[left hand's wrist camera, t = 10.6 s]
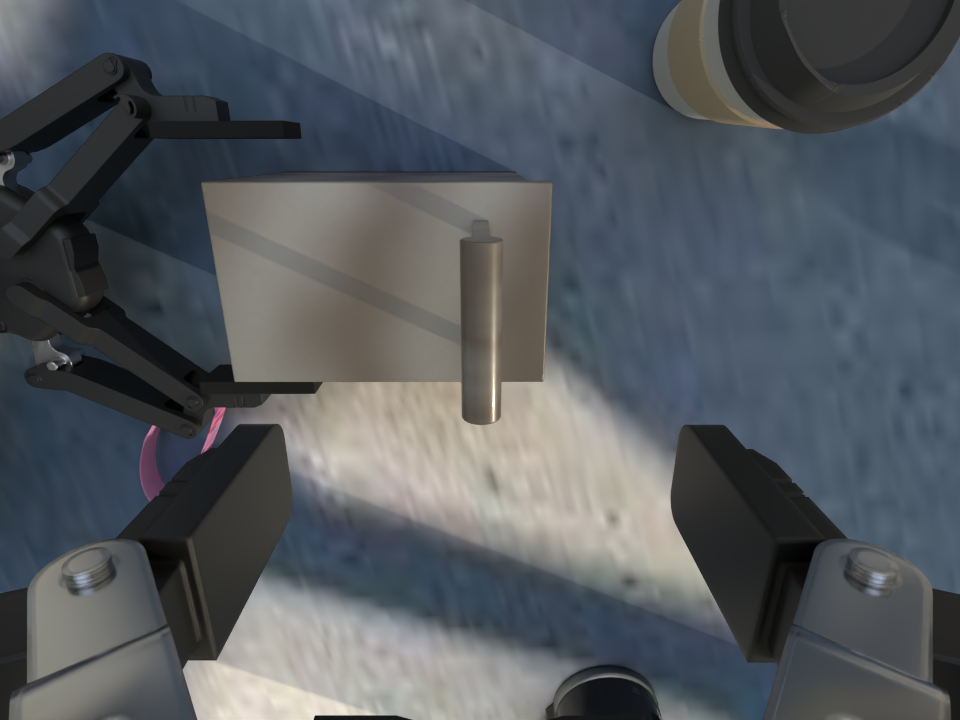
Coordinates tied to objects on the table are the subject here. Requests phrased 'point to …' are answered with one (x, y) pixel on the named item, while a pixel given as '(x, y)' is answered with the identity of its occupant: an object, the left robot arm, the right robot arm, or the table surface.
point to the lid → (385, 282)
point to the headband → (148, 456)
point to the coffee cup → (800, 59)
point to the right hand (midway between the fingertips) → (308, 264)
